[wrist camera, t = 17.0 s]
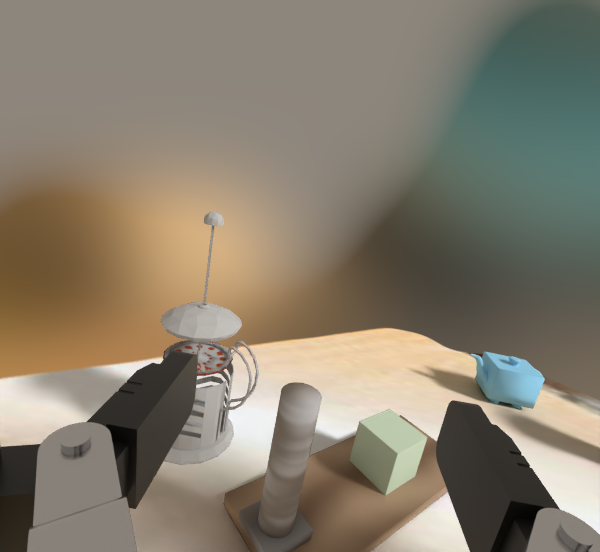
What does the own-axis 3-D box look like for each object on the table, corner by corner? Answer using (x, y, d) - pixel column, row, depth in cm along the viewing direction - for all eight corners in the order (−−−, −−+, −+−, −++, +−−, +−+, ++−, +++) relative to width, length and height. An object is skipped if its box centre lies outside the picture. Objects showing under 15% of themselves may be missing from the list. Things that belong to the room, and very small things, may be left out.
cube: (415, 476, 38) (427, 437, 37) (385, 495, 35) (397, 453, 34) (379, 445, 42) (389, 408, 41) (349, 460, 39) (359, 421, 37)
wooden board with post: (468, 475, 41) (508, 367, 38) (284, 617, 25) (323, 449, 21) (398, 422, 49) (426, 327, 45) (221, 505, 32) (242, 366, 29)
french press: (180, 394, 47) (199, 201, 40) (261, 425, 44) (296, 222, 37) (122, 442, 38) (135, 202, 31) (220, 485, 35) (257, 230, 28)
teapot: (464, 398, 58) (478, 357, 57) (454, 379, 64) (466, 341, 62) (540, 415, 58) (557, 374, 56) (522, 394, 63) (537, 356, 61)
